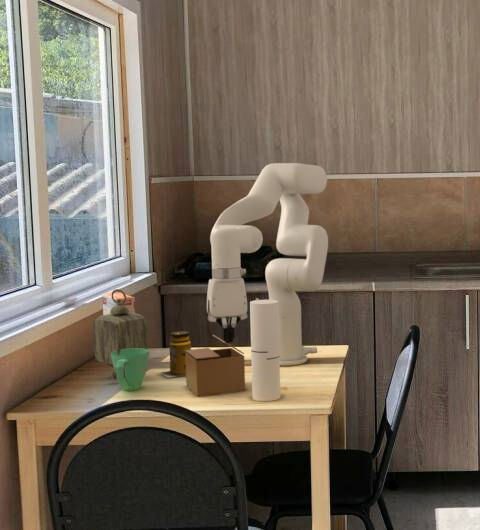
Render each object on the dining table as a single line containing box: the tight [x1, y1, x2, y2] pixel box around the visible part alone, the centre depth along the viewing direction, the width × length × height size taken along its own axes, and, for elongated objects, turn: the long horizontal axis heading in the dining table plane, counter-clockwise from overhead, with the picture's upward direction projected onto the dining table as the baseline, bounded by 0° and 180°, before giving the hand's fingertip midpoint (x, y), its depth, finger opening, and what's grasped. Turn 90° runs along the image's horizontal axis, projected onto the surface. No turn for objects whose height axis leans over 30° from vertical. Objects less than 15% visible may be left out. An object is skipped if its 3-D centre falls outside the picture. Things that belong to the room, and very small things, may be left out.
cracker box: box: [102, 292, 136, 315], centre depth 269 cm, size 14×6×21 cm, turn 34°
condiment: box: [159, 330, 192, 379], centre depth 255 cm, size 7×8×12 cm
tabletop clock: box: [92, 288, 149, 379], centre depth 251 cm, size 14×9×25 cm, turn 50°
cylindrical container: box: [249, 299, 281, 402], centre depth 227 cm, size 7×7×25 cm
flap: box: [212, 334, 245, 355], centre depth 238 cm, size 6×12×1 cm
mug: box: [111, 348, 150, 392], centre depth 236 cm, size 15×10×10 cm
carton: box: [185, 347, 246, 397], centre depth 237 cm, size 13×12×10 cm
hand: (228, 341), depth 238 cm, fingers closed
